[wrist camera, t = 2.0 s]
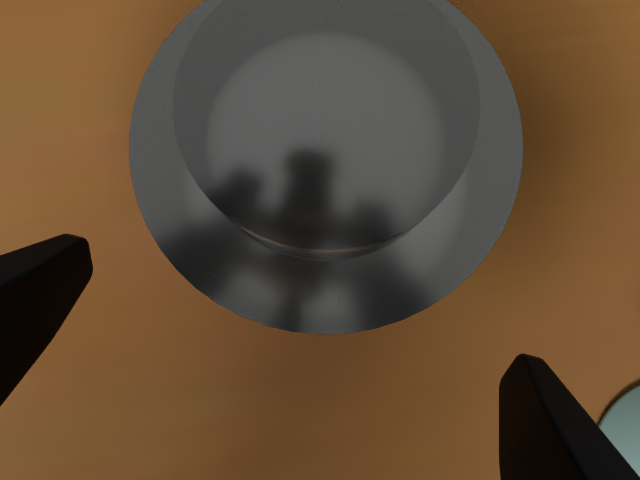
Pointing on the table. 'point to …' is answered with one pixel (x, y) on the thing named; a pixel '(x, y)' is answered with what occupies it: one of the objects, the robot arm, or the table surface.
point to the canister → (326, 157)
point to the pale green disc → (625, 426)
